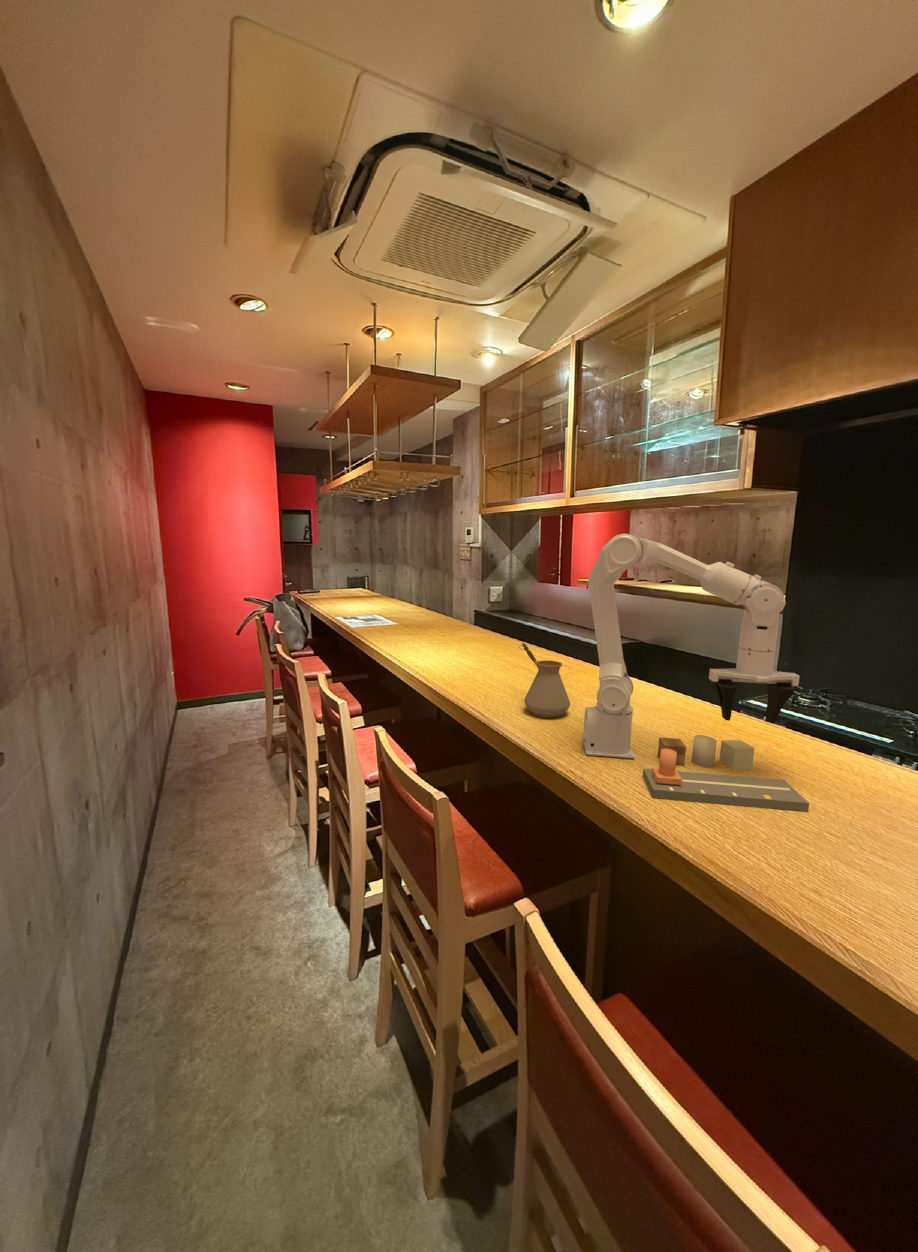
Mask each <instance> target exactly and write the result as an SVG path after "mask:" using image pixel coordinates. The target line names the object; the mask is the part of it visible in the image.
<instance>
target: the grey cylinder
mask: <svg viewBox="0 0 918 1252" xmlns="http://www.w3.org/2000/svg"><path fill="white" fill-rule="evenodd" d="M716 749H717V739H716V738H714V737H712V736H708V735H702V734H696V735H694V736H693V744H692V753H691V763H692V764H693V765H695V766H698V767H700V768H704V769H705V768H707V769H711V768H714V766H715V761H716Z"/></svg>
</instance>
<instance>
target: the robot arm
mask: <svg viewBox="0 0 918 1252" xmlns="http://www.w3.org/2000/svg"><path fill="white" fill-rule="evenodd" d="M641 559H642V560H641ZM640 560H641V564H642V565H647V564H649V565H651V564H660V565H662V566H664V567H667V568H670V569H672V570H674V571H677V572H679V573H681V574H684V575H686V576H688V577H691V578H694V579H696V580H698V581H699V582H700V585H701V588H702V590H703V591H705V592H707V593H709V594H711V595H713V596H716V597H718V598H720V599H722V600H724V601H727V602H729V603H731V604H733V605H736V606H739V605H742V606H743V607H744V608H743V616H742V617H743V618H742V621H741V623H740V632H739V640H738V647H737V648H738V649H737V657H736V658H737V659H736V664H735V665H736V666H735V668H731V667H730V668H709V672H708V673H709V674H708V679H709V680H710V681H711V682H712V683H713V686H714V688H715V690H716V692H717V695H718V700H719V702H720V703H719V704H720V709H721V717H722V718H723V719H724V721H728V722H729V721H731V717H732V709H733V708H732V707H733V702H734V697H735V695H736V691H737V688H736V687H735V686H734V683H732V682H737V683H755V684H766V687H767V704H766V709H765V721H767V723H769V724H775V723H776V721H777V718H778V716H779V715H780V712H781V711H782V709H783V707H784V706H785V704H786V703H787V701H788V700H789V699H790V698H791V697H792V696H793V695H794V694H795V688H794V687H798V686H799V684H800V675H799V674H797V673H795V672H786V671H784V672H783V671H775V670H774V664H775V655H776V649H777V648H776V647H777V641H778V633H779V619H780V616H779V615H780V613H781V612H782V611H783V610H784V608H785V606H786V603H787V601H786V600H785V594H784V592H783V591H782V589H781V588H780V587H779V586H777V585H775V584H772V583H770V582H768V581H767V580H762V576H760V575H758V574H754V575H751V574H749V573H746V572H744V571H742V570H740V569H737V568H735V564H734V563H732V562H729V561H726V562H724V563H723V562H721V561H717V562H714V563H711V564H706V563H704V562H701V560H697V559H696V558H693V557H691V556H689V555H687V554H684V553H683V552H680V551H678V550H676V549H675V548H671V547H670V546H667V545H665V544H663V543H661V542H656V541H654V540H649V539H645V538H641V537H639V538H638V537H637V536H635V535H632V534H629V533H621V534H617V535H614V536H613V537H612V538H611V539H610V540H608V542H607V543H606V544H605V545H604V546H603V547H602V548H601V549H600V552H599V555H598V557H597V559H596V561H595V564H594V566H593V568H592V569H591V571H590V573H589V575H588V579H587V580H588V588H589V589H588V590H589V596H590V602H591V603H590V604H591V609H592V611H591V612H592V619H593V625H594V633H595V638H596V639H595V640H596V648H597V654H598V655H597V656H598V662H599V663H598V664H599V669H598V670H599V674H598V679H599V680H598V681H599V688H598V690H597V693H596V700H597V702H596V704H595V706H587V707H585V710H584V715H583V716H584V718H583V720H584V721H583V733H582V743H583V747H584V751H585V754H586V755H588V756H595V757H596V756H597V757H606V758H607V757H609V758H620V759H621V758H623V759H635V757H636V755H635V754H634V752H633V749H632V748H631V747H632V746H631V737H632V727H633V726H632V725H633V715H634V713H633V710H634V708H633V706H632V705H631V704H630V703H631V696H632V694H633V692H634V683H633V680H632V679H631V678H630V677H629V675H628V673H627V672H628V671H627V666H626V663H625V660H624V653H623V645H622V644H623V643H622V639H621V638H622V637H621V630H620V623H619V614H618V608H617V600H616V592H615V583H616V582H617V581H618V580H619V579H620V578H621V576H622V575H623V574H624V572H625V571H627V570H629V569H631V568H632V567H633V566H634V565H637V563H638V562H639V561H640Z"/></svg>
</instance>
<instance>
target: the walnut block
mask: <svg viewBox="0 0 918 1252" xmlns="http://www.w3.org/2000/svg"><path fill="white" fill-rule="evenodd" d="M661 749H672V750H674V751H676V752H677V757H676V766H678V767H685V763H686V753H687V751H686V750H687V746H686V745H685V744H684V742H683V740H681V739H680V738H676V737H675V738H673V737H672V738H670V737H658V747H657V757H658V759H659V760H660V753H661Z"/></svg>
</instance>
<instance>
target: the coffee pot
mask: <svg viewBox="0 0 918 1252" xmlns="http://www.w3.org/2000/svg"><path fill="white" fill-rule="evenodd" d="M521 646H522V648H520V647H521ZM518 648H519V649H521V650H523V651H526V654H527V656H528V657H529V658H530V660H531V661H532V662H533V663H534V665H535V666H536V667H537V673H536V675H535V677H534V679H533V681H532V683H531V685H530V687H529V689H528V692H527V693H526V695H525V697H524V699H523V700H524V705H525V707H526V708H527V709H528V711H530V712H531V713H532V715H534V716H537V717H539V718H540V717H541V718H548V719H550V718H551V719H554V718H560V717H561V716H563V714H564V713H566V712H567V711H568V710H569V709H570V707H571V701H570V699H569V696H568V693H567V691H566V687H565V685H564V682H563V679H562V677H561V675H560V669H561V667H562V666H563V663H562V662H560V661H555V660H537V659H536V657H535V655H534V654H533V653H532V651H531V650H530V649H529V647H528V645H527V644H526V643H524V642H522V643H521V644H520V645H519V646H518Z"/></svg>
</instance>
